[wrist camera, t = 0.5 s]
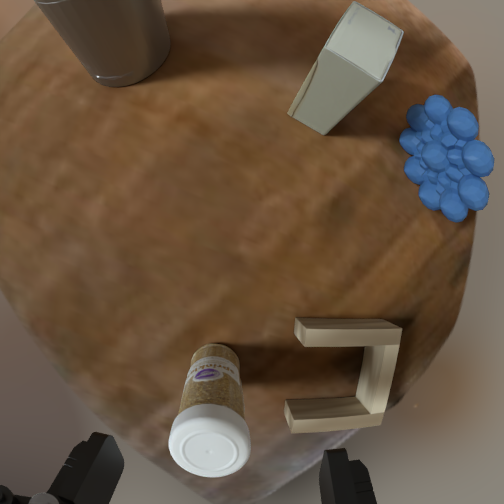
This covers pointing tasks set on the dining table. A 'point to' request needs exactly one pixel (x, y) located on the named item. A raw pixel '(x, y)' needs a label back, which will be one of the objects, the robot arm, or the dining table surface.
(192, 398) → the spice jar
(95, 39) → the robot arm
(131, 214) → the dining table surface
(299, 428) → the pocket
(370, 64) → the skincare box
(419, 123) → the blue bumpy cluster
